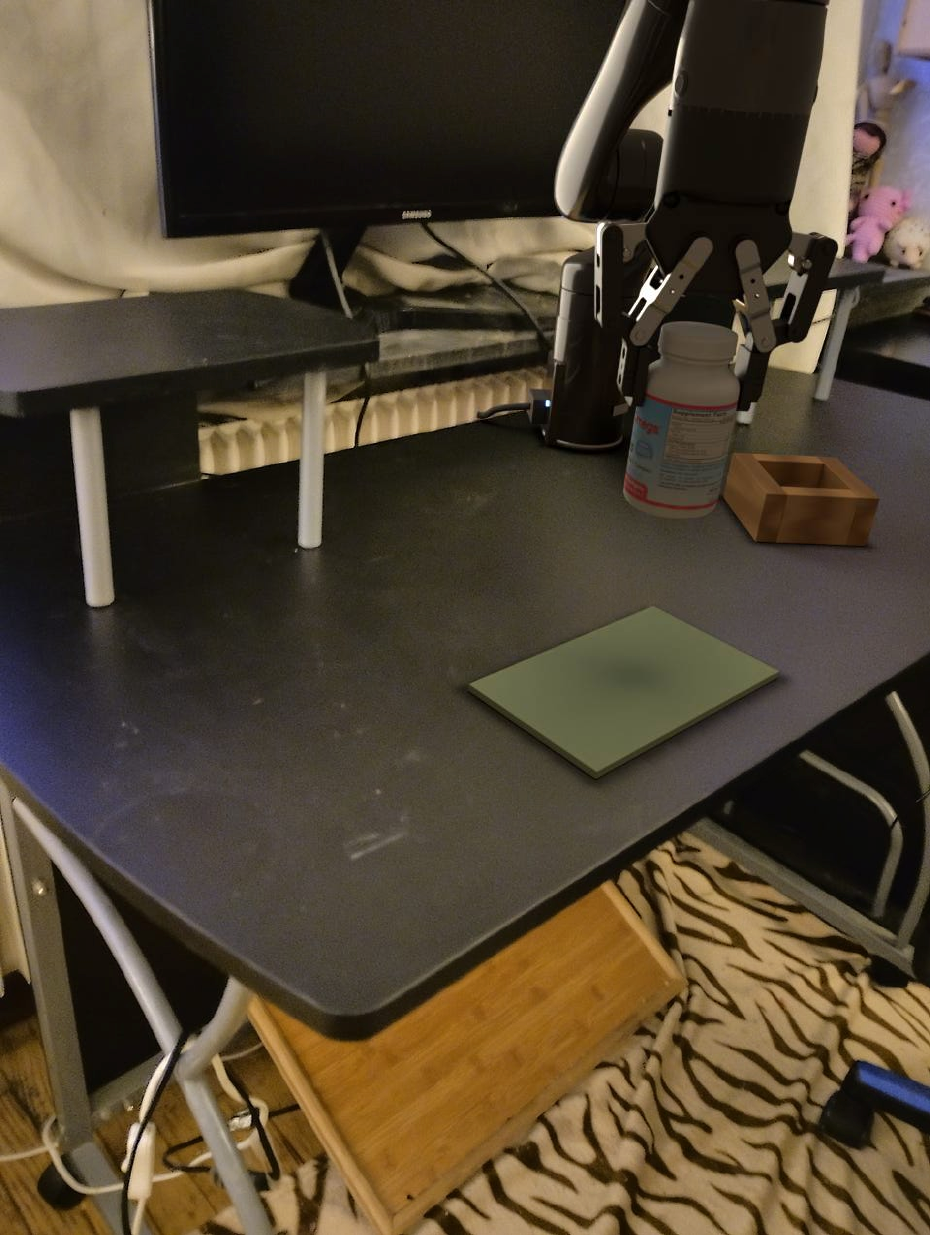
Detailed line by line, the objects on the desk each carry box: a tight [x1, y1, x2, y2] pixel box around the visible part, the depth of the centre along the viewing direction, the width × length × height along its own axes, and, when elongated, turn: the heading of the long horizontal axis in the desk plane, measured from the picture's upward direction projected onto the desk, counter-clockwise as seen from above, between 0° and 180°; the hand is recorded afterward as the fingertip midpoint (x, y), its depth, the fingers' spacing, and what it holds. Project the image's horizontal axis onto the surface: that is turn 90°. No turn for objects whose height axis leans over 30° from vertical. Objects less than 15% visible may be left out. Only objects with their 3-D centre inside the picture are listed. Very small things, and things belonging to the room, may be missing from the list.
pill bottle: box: [622, 320, 740, 520], centre depth 62 cm, size 6×6×11 cm
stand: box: [722, 452, 881, 547], centre depth 98 cm, size 11×11×5 cm
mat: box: [467, 605, 780, 780], centre depth 70 cm, size 20×12×1 cm, turn 131°
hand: (685, 404), depth 61 cm, fingers closed on pill bottle, 6 cm apart
